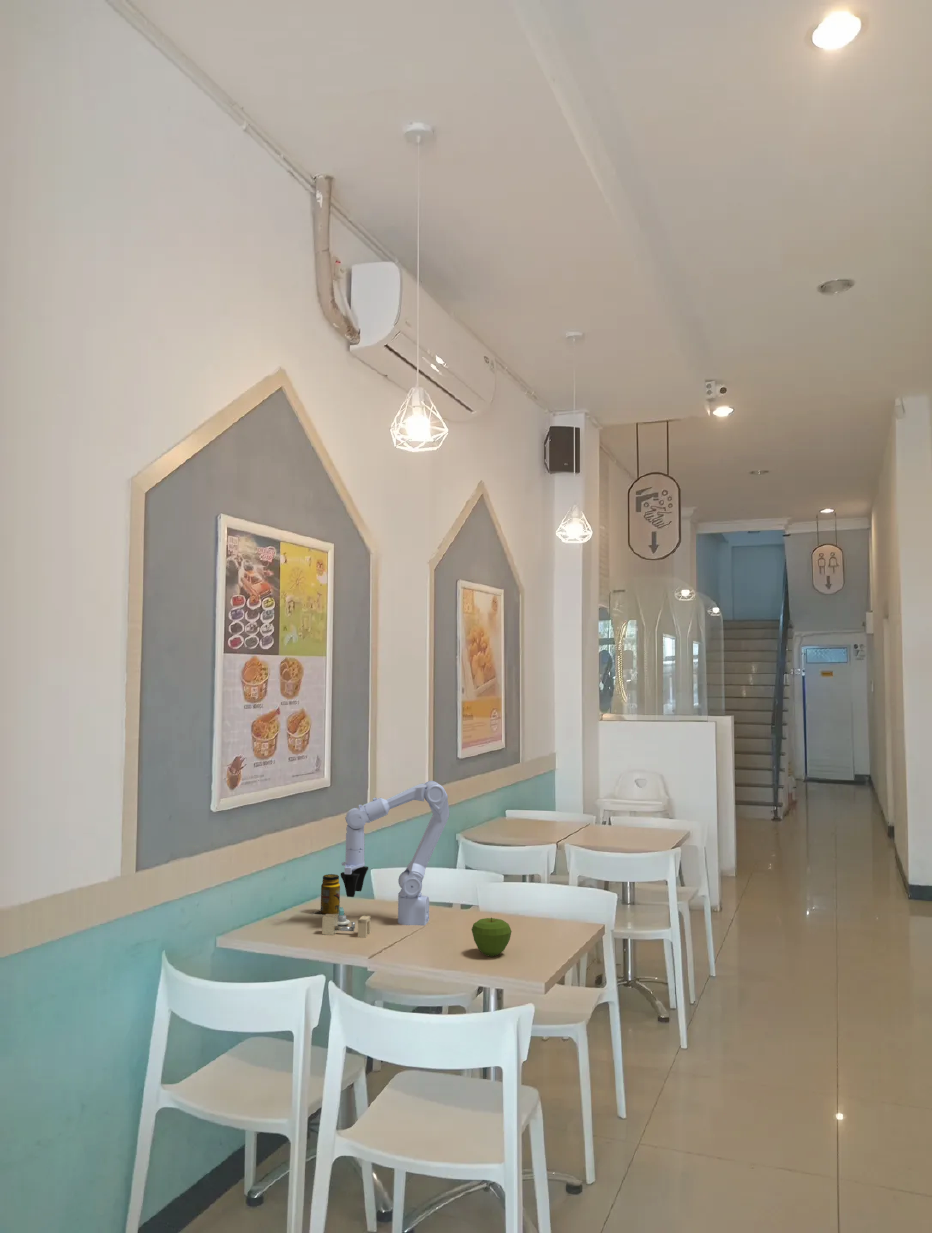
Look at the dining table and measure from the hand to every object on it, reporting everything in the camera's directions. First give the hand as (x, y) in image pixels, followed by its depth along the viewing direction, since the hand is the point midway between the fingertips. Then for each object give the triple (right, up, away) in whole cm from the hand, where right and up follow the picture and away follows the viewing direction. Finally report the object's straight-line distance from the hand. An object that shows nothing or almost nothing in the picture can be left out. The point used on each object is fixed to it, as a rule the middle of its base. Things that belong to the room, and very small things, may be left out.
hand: (354, 893), depth 274 cm
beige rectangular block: (-3, -8, -11) cm, 14 cm away
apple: (+41, -8, -27) cm, 50 cm away
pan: (-4, -8, 0) cm, 9 cm away
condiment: (-10, -11, +15) cm, 22 cm away
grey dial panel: (0, -9, -7) cm, 12 cm away
